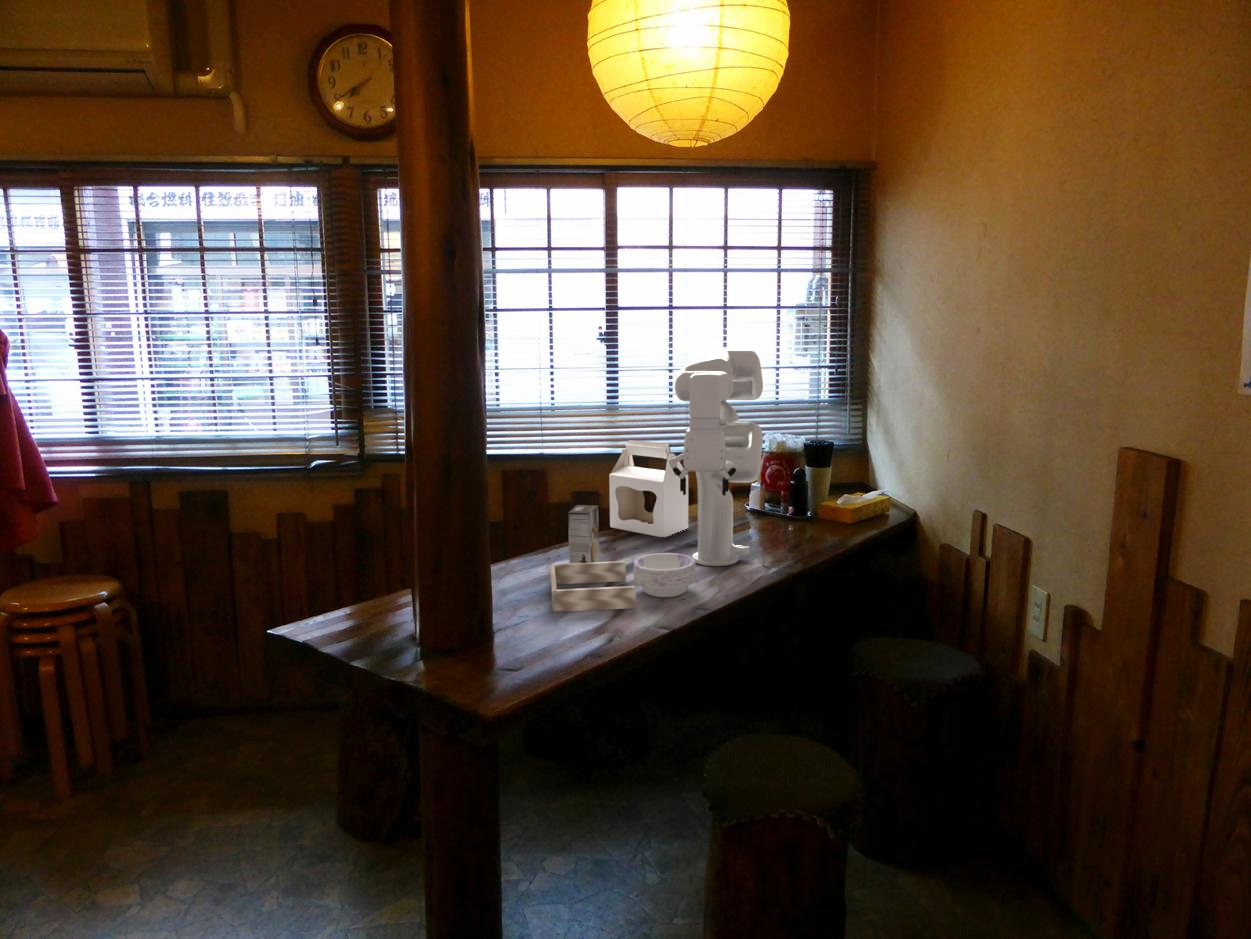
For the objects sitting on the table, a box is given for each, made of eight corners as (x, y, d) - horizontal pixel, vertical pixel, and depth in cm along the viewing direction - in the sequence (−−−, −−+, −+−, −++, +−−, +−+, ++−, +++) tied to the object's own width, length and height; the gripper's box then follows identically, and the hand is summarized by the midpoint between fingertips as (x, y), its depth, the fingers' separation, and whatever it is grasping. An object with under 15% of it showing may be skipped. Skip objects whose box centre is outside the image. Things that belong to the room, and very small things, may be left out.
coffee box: (577, 560, 224) (576, 504, 221) (600, 561, 222) (599, 505, 220) (568, 570, 215) (567, 512, 212) (592, 571, 214) (591, 512, 211)
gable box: (609, 527, 260) (607, 441, 255) (634, 519, 270) (633, 436, 265) (664, 538, 246) (664, 447, 241) (689, 529, 256) (689, 442, 251)
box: (625, 579, 207) (625, 561, 206) (635, 608, 186) (635, 587, 185) (550, 583, 204) (550, 564, 204) (552, 612, 184) (552, 591, 183)
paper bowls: (624, 586, 201) (623, 556, 200) (679, 578, 207) (679, 549, 206) (648, 605, 187) (648, 573, 186) (706, 597, 193) (707, 565, 192)
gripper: (739, 423, 198) (738, 492, 200) (669, 423, 199) (669, 491, 202) (741, 426, 190) (740, 497, 193) (668, 426, 192) (668, 496, 194)
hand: (704, 494), depth 197 cm, fingers open, 9 cm apart
